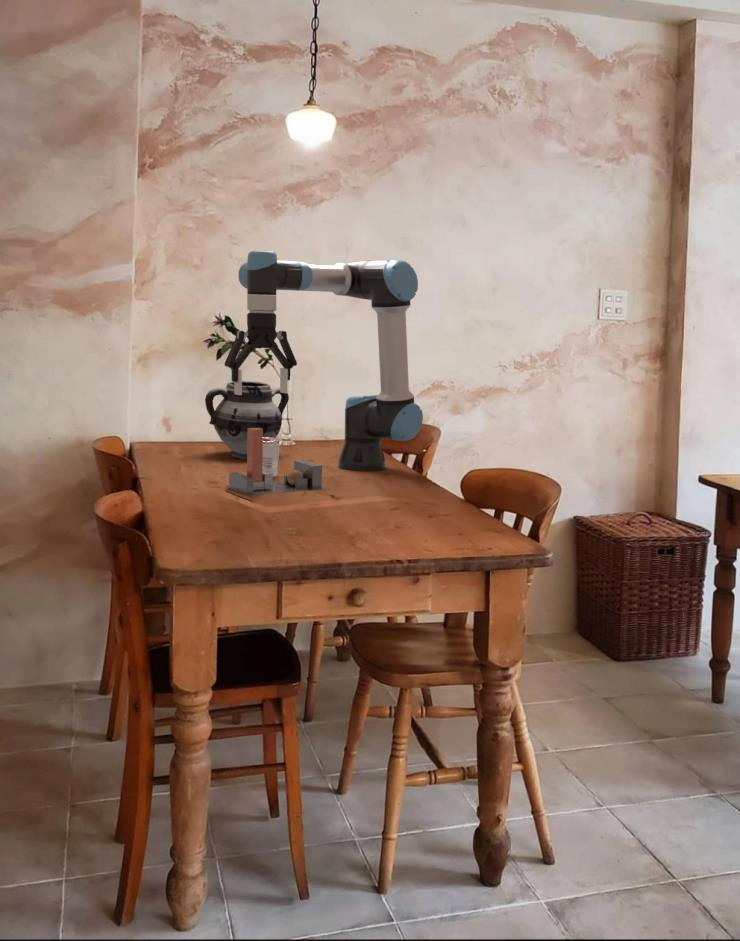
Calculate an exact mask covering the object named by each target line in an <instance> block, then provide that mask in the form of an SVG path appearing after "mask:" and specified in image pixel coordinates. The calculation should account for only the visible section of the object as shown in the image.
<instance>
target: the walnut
mask: <svg viewBox="0 0 740 941" xmlns="http://www.w3.org/2000/svg"><path fill="white" fill-rule="evenodd" d="M286 475H287V480H288V482H289V483H290V484H291V485H293V486H295V479H301V478H303V475H302V473H301V472H300V471H298V470H294V469H293V470H291V471H289V472H288V474H286Z"/></svg>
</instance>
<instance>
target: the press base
mask: <svg viewBox="0 0 740 941" xmlns="http://www.w3.org/2000/svg"><path fill="white" fill-rule="evenodd" d="M293 470H298V471H300V472H301V473H302V475H303V478H301V479H295V486H293V485H291V484H290V483H289V482H288V480H287V475H288V474H284V475H283V481H275V482H274V481H273V488H272V489H259V490H253V478H250V477H248V476H247V475H245V474H242V473H238V472H229V473H228V486H227V485H225V487H226V488H228V489H230V490H234V491H237V492H239V493H241V494H244V495H246V496H249V497H252V496H263V495H273V494H283V493H285V494H286V493H293V492H304V491H316V490H325V489H328V487H326V486H324V485H323V483H322V482H323V465H322V464H319V463H315V462H311V461H307V460H304V459H299V460H293ZM225 493H227V494H231V495H232V496H236V497H237V498H240V499H243V500H246V501H248V502H252V500H250V499H248V498H245V497H243V496H241V495H238V494H236V493H233V492H230V491H228V490H225Z"/></svg>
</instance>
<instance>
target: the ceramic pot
mask: <svg viewBox="0 0 740 941" xmlns="http://www.w3.org/2000/svg"><path fill="white" fill-rule="evenodd" d="M270 385H271V384H269V383H268V382H260V381H253V380H242V395H236V394H234V382H232V380H231V381H228V382H227V384H226V387H225V388H224V387H213V388H212V389H209V390H208V392H207V393H206V395H205V399H204V403H205V408H206V411H207V413H208V415H209V416H210V421H209V425H213V428H214V429H215V431H216V433H217V435H218V437H219V438H220V440H221V441H222V442H223V443H224V445H225V446H226V447H228V449H229V450H230V452H231V453H230V454H231V458H235V459H242V460H247V428H260V429H263V437H271V438H278V435H279V433H280V431H281V428H282V424H283V420H284V419H283V413H284V410H285V409H286V407H287V405H288V403H289V400H290V398H289V397H290V396H289V393H281V392H280V386H273V387H271V386H270ZM275 395H280V402H279V403H278V406H277V404H275V402H274V401H273V397H274V396H275ZM216 396H222V397H223V399H222V400H221V401H220V402H219V403H218V405H217V406H216V408H215V407H214V399H215V397H216Z"/></svg>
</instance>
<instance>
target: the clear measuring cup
mask: <svg viewBox="0 0 740 941" xmlns="http://www.w3.org/2000/svg"><path fill="white" fill-rule="evenodd" d="M280 441H281V439H280V438H278V437H276V438H271V437H263V462H262V471H266V472H269V473H272V474H273V478H274V477H277V476H278V473H279V471H278V469H279V457H280Z"/></svg>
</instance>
